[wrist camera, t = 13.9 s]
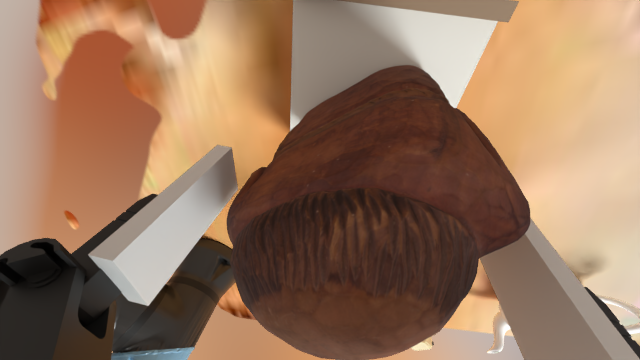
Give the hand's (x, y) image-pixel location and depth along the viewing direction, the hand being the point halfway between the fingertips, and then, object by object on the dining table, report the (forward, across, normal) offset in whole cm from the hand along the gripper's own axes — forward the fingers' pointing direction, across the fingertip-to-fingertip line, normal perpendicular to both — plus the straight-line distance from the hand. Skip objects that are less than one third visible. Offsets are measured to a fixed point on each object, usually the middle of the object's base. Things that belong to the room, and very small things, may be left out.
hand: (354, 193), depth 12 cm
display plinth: (+19, 0, 0) cm, 19 cm away
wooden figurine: (+11, 0, 0) cm, 11 cm away
